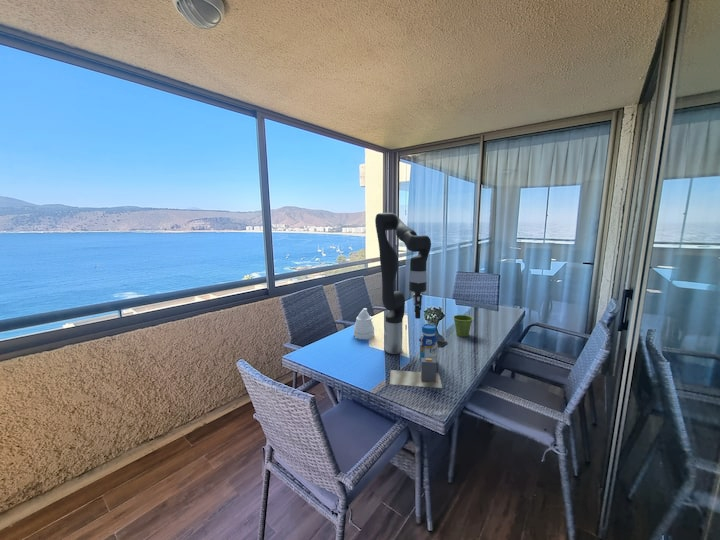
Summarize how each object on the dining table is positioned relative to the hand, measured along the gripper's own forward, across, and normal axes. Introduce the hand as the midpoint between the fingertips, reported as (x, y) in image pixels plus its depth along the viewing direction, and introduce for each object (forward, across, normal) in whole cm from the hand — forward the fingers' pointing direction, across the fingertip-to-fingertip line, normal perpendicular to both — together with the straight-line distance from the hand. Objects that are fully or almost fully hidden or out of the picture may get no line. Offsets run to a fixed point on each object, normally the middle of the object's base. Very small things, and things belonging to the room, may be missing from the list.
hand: (417, 315), depth 132 cm
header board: (+28, +8, -1) cm, 29 cm away
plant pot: (+28, -51, +31) cm, 66 cm away
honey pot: (+28, -42, -30) cm, 59 cm away
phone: (+29, -37, +11) cm, 48 cm away
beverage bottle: (+28, -9, +6) cm, 30 cm away
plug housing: (+26, +8, +5) cm, 28 cm away
